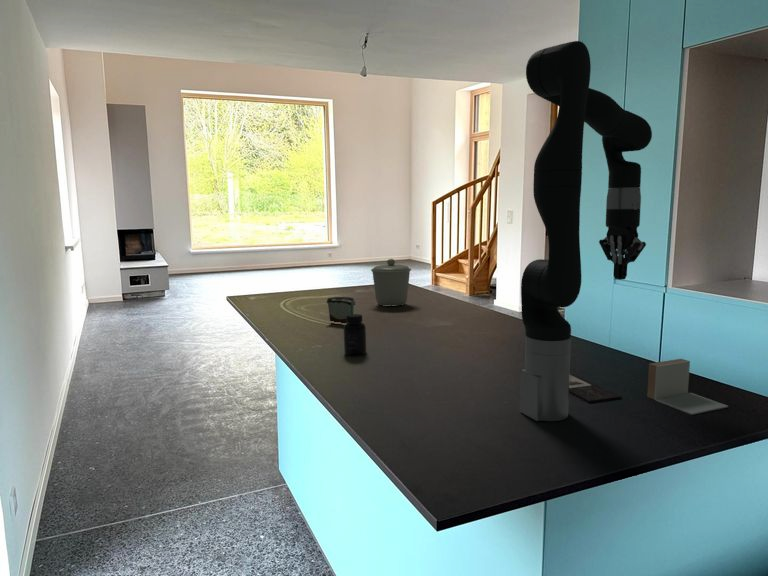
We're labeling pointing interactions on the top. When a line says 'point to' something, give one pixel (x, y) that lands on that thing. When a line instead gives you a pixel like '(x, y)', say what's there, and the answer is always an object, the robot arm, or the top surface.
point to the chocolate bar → (589, 390)
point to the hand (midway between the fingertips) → (620, 279)
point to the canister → (391, 283)
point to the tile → (668, 378)
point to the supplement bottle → (354, 336)
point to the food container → (340, 308)
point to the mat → (691, 403)
